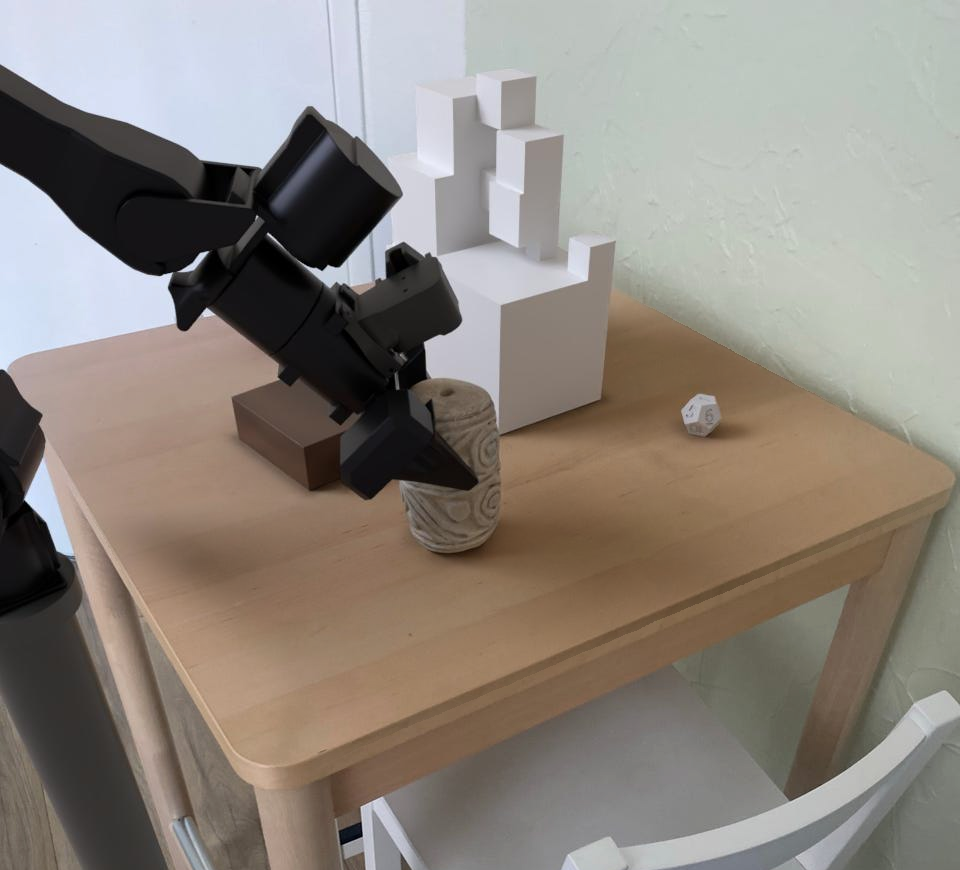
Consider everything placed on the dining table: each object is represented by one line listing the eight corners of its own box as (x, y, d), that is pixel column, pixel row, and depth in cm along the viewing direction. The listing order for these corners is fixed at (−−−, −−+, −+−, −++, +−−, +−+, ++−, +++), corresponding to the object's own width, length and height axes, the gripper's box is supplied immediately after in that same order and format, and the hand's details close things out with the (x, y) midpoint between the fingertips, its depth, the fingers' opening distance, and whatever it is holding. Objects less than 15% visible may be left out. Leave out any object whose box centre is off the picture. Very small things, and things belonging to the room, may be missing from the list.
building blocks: (600, 399, 89) (629, 97, 73) (498, 435, 84) (503, 120, 68) (470, 319, 102) (469, 48, 86) (375, 346, 97) (354, 64, 81)
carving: (390, 526, 74) (380, 382, 66) (479, 505, 76) (480, 363, 68) (420, 573, 69) (413, 424, 62) (514, 548, 72) (519, 402, 64)
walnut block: (309, 491, 78) (303, 447, 75) (238, 438, 84) (230, 396, 81) (415, 445, 83) (414, 403, 80) (342, 398, 89) (338, 358, 86)
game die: (707, 445, 83) (712, 414, 81) (670, 431, 85) (675, 400, 83) (727, 429, 85) (733, 399, 83) (691, 416, 87) (696, 385, 85)
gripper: (385, 282, 50) (578, 456, 58) (375, 173, 64) (532, 327, 72) (254, 425, 55) (451, 567, 63) (272, 295, 68) (431, 425, 77)
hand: (469, 462), depth 68 cm, fingers closed on carving, 6 cm apart
